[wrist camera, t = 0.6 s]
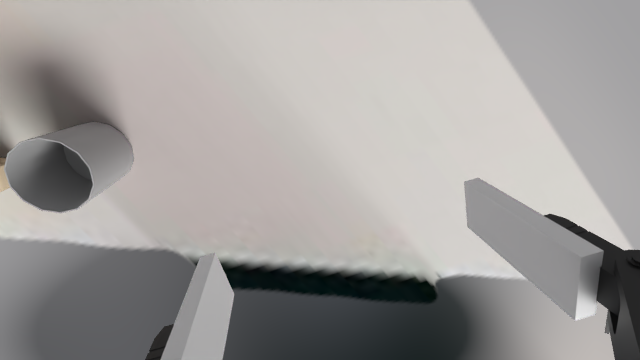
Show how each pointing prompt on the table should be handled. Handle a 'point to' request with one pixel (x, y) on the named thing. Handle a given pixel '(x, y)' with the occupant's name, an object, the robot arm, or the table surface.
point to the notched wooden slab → (3, 176)
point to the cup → (68, 166)
